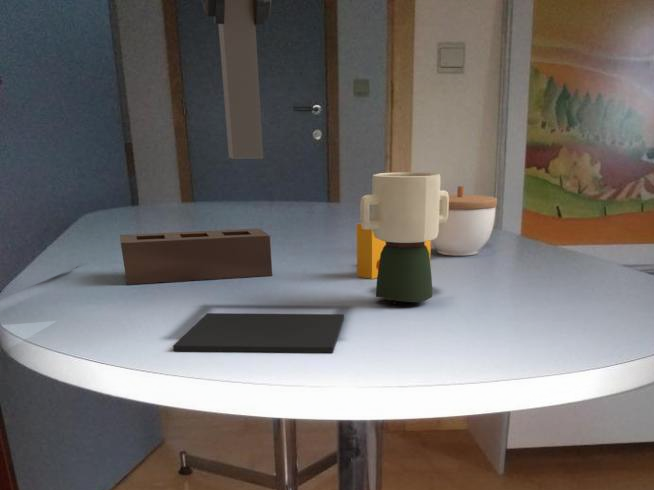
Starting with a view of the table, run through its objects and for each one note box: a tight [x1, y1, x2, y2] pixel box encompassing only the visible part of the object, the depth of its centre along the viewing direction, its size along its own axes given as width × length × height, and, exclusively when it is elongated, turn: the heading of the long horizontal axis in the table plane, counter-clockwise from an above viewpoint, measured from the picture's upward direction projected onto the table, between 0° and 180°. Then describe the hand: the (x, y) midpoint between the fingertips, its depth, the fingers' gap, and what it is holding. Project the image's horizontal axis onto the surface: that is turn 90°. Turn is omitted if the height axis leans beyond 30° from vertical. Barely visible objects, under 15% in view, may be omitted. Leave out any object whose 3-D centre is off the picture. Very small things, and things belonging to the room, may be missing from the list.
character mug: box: [359, 171, 450, 305], centre depth 77 cm, size 11×7×13 cm, turn 121°
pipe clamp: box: [356, 222, 432, 280], centre depth 95 cm, size 12×4×6 cm, turn 137°
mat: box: [172, 312, 345, 354], centre depth 68 cm, size 14×12×1 cm
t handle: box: [217, 0, 264, 160], centre depth 60 cm, size 8×3×14 cm, turn 18°
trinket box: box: [431, 185, 498, 257], centre depth 107 cm, size 11×11×9 cm
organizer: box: [119, 228, 273, 286], centre depth 93 cm, size 7×18×5 cm, turn 108°
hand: (240, 14), depth 57 cm, fingers closed on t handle, 2 cm apart
